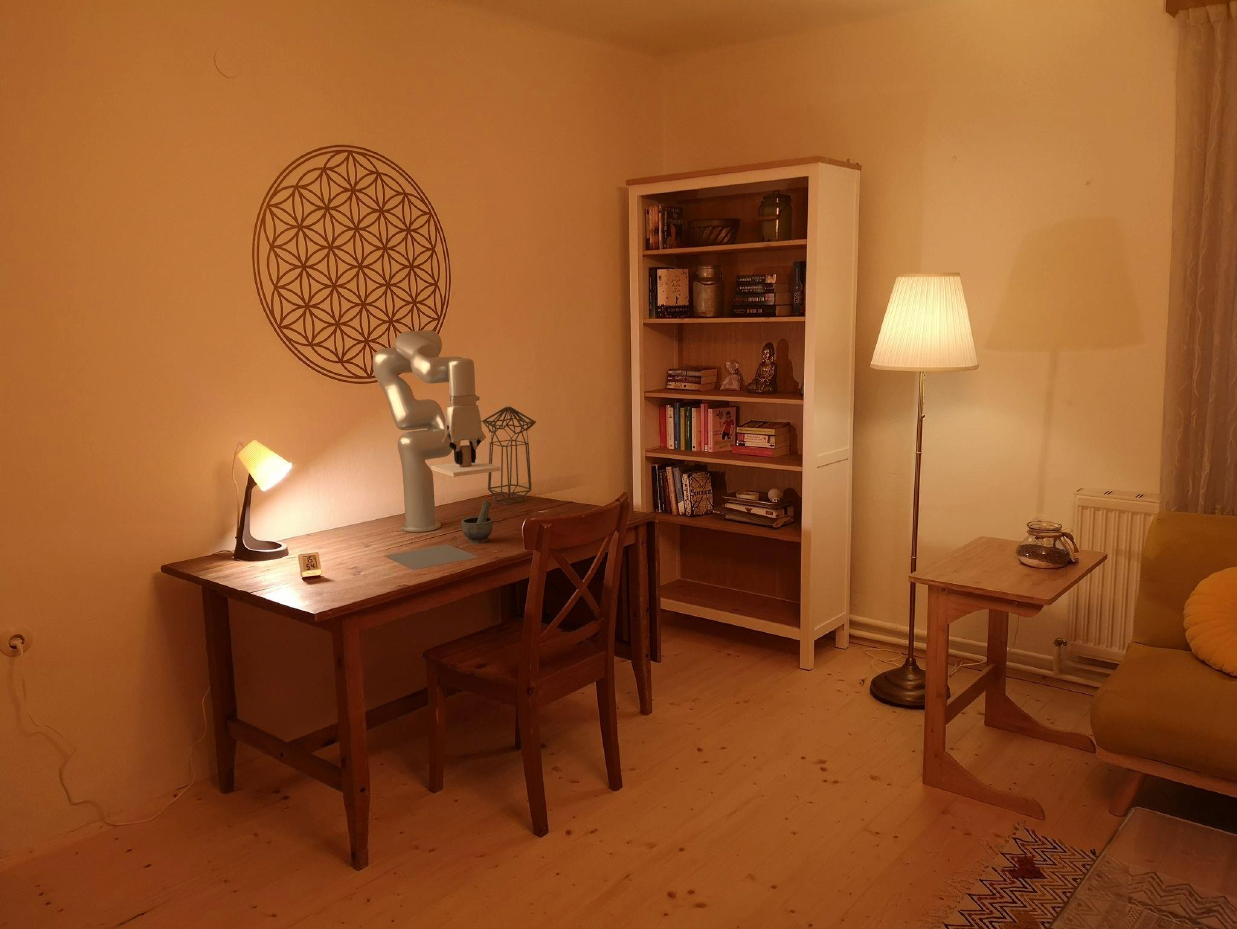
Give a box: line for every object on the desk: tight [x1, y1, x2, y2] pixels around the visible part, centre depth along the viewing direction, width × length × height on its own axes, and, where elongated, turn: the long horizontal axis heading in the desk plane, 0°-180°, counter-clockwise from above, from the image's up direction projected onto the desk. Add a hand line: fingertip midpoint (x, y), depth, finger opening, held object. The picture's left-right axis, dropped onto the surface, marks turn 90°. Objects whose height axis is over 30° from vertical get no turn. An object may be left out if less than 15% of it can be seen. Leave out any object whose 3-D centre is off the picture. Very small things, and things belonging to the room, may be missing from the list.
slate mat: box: [383, 543, 479, 571], centre depth 271 cm, size 20×20×1 cm
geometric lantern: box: [481, 406, 537, 505], centre depth 347 cm, size 16×16×35 cm
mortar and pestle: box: [460, 500, 494, 544], centre depth 289 cm, size 11×9×12 cm
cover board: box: [430, 444, 501, 478], centre depth 282 cm, size 15×15×7 cm
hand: (465, 462), depth 282 cm, fingers closed on cover board, 3 cm apart
